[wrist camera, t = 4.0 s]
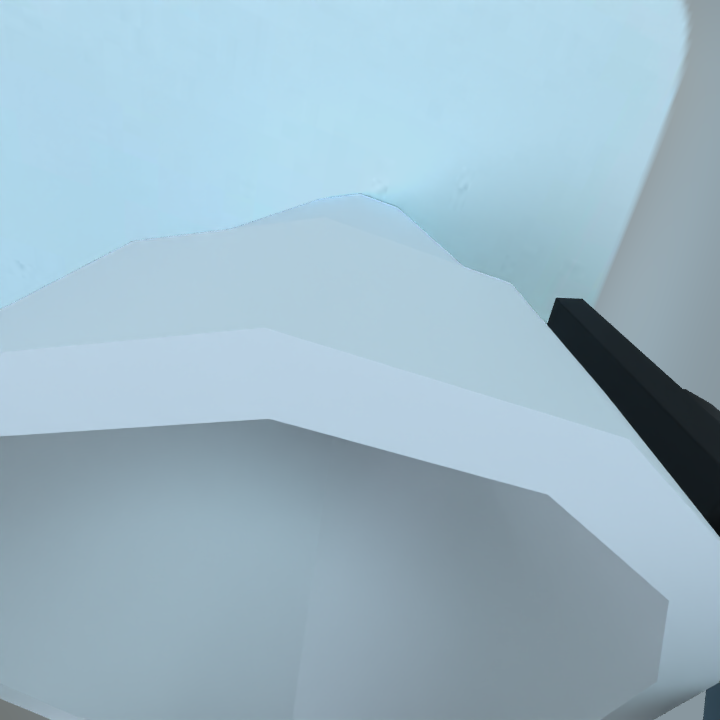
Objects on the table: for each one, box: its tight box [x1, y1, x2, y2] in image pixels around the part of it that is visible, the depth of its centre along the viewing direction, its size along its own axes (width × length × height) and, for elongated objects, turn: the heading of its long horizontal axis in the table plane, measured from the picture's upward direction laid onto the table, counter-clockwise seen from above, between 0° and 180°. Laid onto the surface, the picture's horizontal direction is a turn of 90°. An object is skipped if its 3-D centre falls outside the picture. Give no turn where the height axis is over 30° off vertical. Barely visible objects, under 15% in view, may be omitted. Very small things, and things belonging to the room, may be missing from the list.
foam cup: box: [0, 194, 720, 720], centre depth 10 cm, size 10×9×13 cm
